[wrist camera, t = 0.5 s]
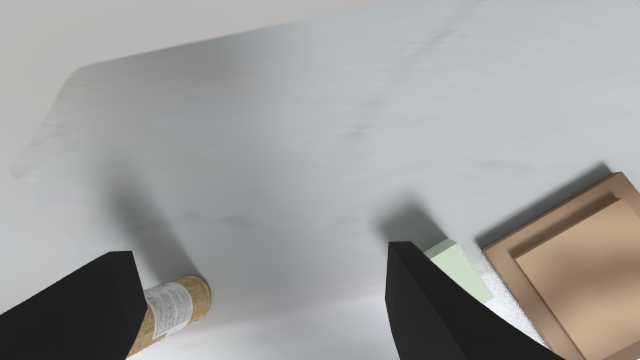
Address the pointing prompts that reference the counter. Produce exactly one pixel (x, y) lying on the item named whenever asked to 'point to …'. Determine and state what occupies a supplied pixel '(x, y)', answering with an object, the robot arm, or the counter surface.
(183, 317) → the sprinkles bottle
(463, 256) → the sage block
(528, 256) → the walnut base
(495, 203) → the counter surface
